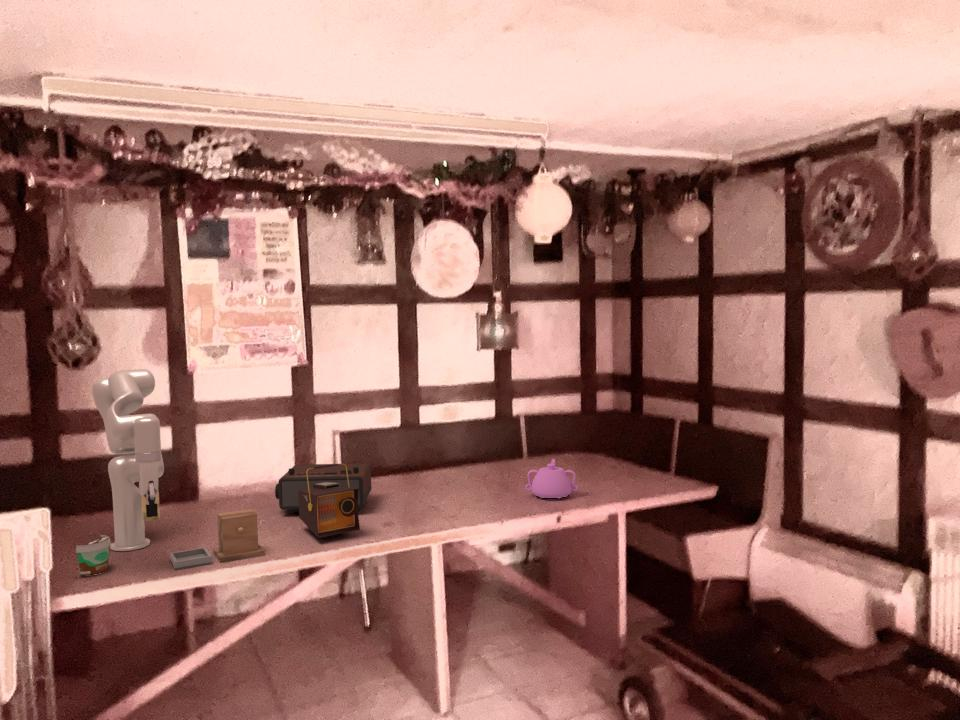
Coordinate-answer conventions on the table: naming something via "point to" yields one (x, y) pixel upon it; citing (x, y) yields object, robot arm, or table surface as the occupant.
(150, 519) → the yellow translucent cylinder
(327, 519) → the vintage portable radio
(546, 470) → the purple lidded pot
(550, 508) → the table surface
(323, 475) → the radio receiver
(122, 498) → the robot arm
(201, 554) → the tray
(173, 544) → the table surface
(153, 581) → the table surface
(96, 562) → the food container
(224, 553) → the mounted unit
